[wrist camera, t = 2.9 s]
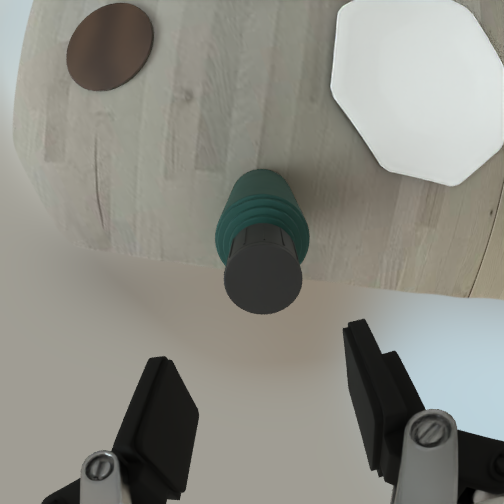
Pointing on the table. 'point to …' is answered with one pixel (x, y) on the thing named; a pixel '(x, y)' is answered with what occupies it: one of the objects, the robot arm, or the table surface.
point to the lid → (109, 47)
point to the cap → (262, 269)
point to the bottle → (261, 211)
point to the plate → (419, 86)
